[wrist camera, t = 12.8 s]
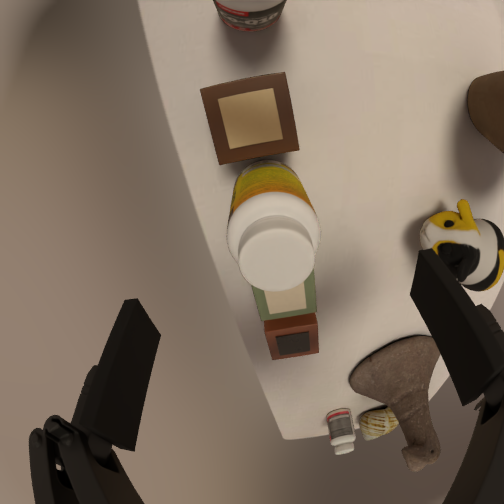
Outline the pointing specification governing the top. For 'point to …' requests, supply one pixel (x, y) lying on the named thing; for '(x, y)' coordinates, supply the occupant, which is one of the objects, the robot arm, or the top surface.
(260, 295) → the block far
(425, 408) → the sculpture
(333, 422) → the pill bottle
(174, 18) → the top surface
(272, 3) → the pill bottle
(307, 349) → the block end
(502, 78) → the flower pot
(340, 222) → the top surface
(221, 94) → the block near
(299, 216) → the supplement bottle
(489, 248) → the figurine
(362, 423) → the seashell
